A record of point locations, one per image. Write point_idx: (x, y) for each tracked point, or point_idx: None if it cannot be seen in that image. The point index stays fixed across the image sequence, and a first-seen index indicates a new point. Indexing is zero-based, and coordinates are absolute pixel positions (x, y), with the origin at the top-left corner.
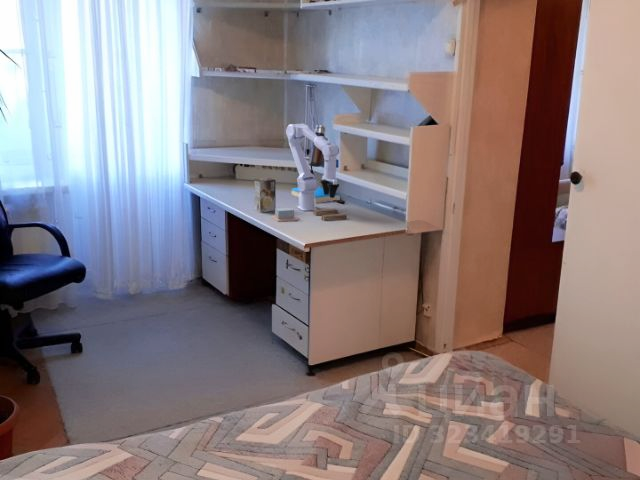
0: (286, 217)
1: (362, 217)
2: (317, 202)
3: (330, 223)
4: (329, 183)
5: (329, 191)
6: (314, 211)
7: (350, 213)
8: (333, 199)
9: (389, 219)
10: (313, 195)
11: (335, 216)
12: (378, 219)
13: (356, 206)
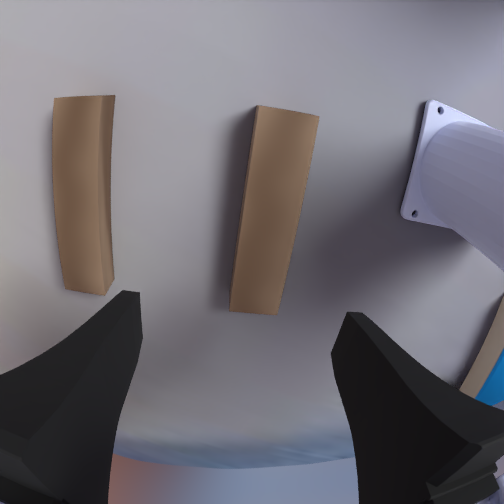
0: None
1: None
2: (502, 304)
3: (3, 117)
4: (369, 488)
5: (94, 343)
6: (293, 111)
7: (212, 360)
8: (470, 380)
9: None
10: (490, 238)
11: (55, 199)
12: None
13: (334, 424)
